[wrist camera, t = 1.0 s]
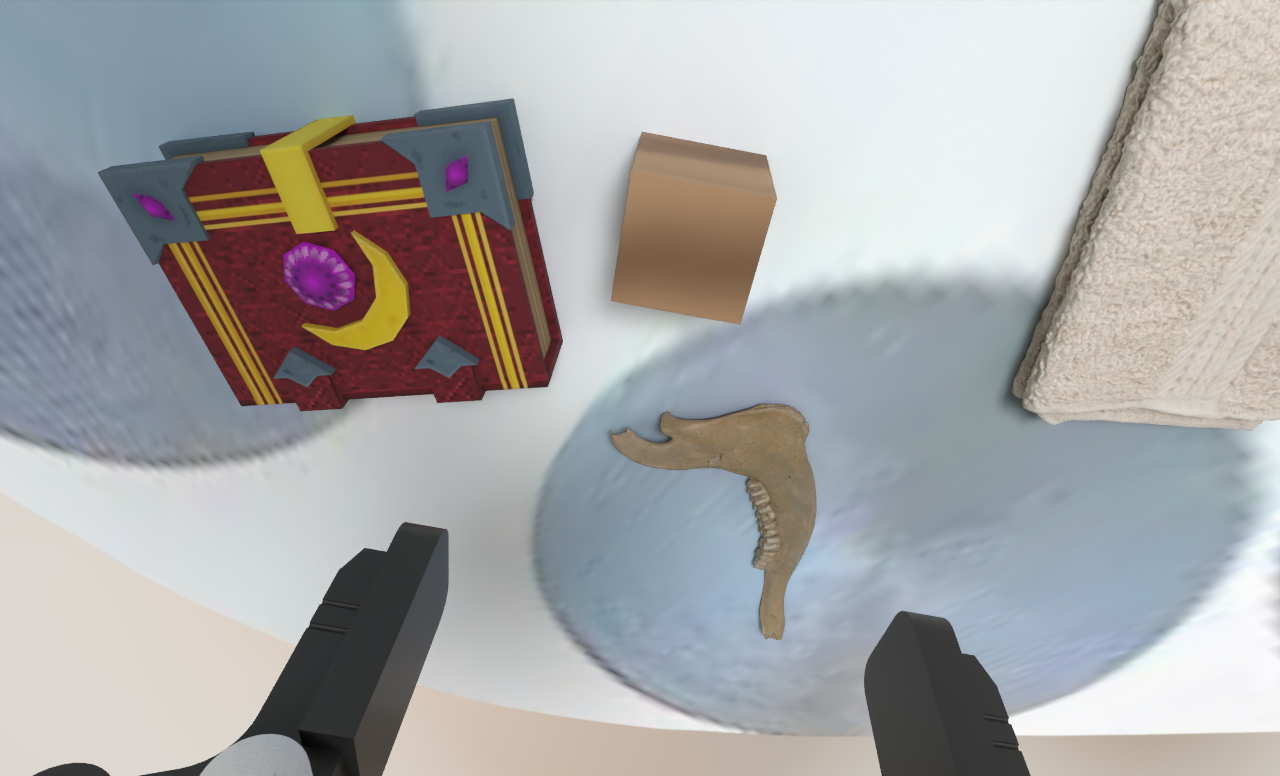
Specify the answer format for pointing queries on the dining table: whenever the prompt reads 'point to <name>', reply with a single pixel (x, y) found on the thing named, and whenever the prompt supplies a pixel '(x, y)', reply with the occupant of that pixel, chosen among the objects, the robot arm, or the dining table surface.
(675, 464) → the jawbone
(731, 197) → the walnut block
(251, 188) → the decorative book
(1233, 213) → the washcloth
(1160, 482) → the dining table surface
